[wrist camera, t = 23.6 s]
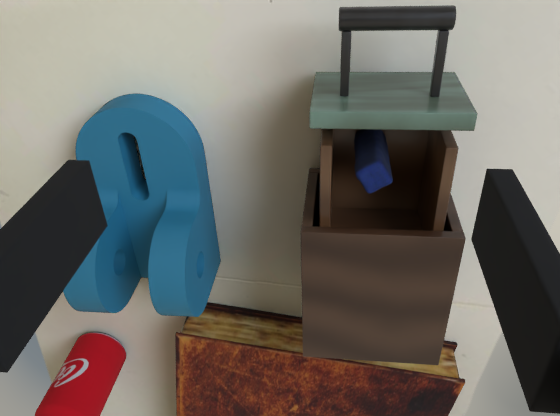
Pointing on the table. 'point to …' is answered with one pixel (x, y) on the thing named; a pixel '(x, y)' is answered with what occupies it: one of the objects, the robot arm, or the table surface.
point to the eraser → (372, 159)
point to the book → (296, 373)
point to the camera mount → (147, 210)
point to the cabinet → (376, 287)
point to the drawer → (390, 127)
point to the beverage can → (85, 377)
